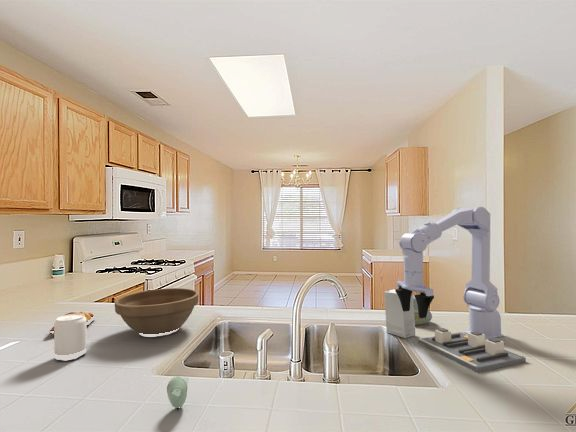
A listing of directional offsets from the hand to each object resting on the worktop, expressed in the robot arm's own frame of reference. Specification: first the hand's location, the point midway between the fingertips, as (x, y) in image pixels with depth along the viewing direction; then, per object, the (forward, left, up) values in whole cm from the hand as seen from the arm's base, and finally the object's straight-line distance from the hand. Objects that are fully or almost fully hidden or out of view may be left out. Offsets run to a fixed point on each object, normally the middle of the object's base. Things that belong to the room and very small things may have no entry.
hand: (414, 314), depth 104 cm
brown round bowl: (+77, -45, -10) cm, 90 cm away
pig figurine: (+71, +10, -10) cm, 72 cm away
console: (-12, +9, -10) cm, 18 cm away
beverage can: (+101, -30, -10) cm, 106 cm away
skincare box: (-3, -11, -10) cm, 15 cm away
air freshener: (-17, -19, -10) cm, 28 cm away
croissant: (+107, -60, -10) cm, 123 cm away
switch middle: (-16, +9, -9) cm, 20 cm away
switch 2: (-15, +15, -9) cm, 23 cm away
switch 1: (-8, +3, -9) cm, 13 cm away
